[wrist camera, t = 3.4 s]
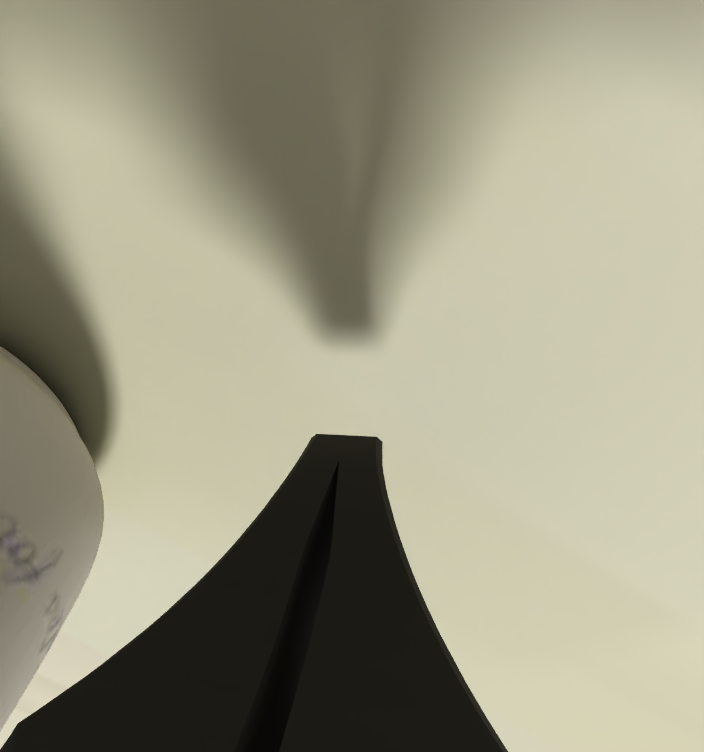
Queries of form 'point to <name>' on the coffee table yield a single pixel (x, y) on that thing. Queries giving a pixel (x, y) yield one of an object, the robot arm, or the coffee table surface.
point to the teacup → (40, 523)
